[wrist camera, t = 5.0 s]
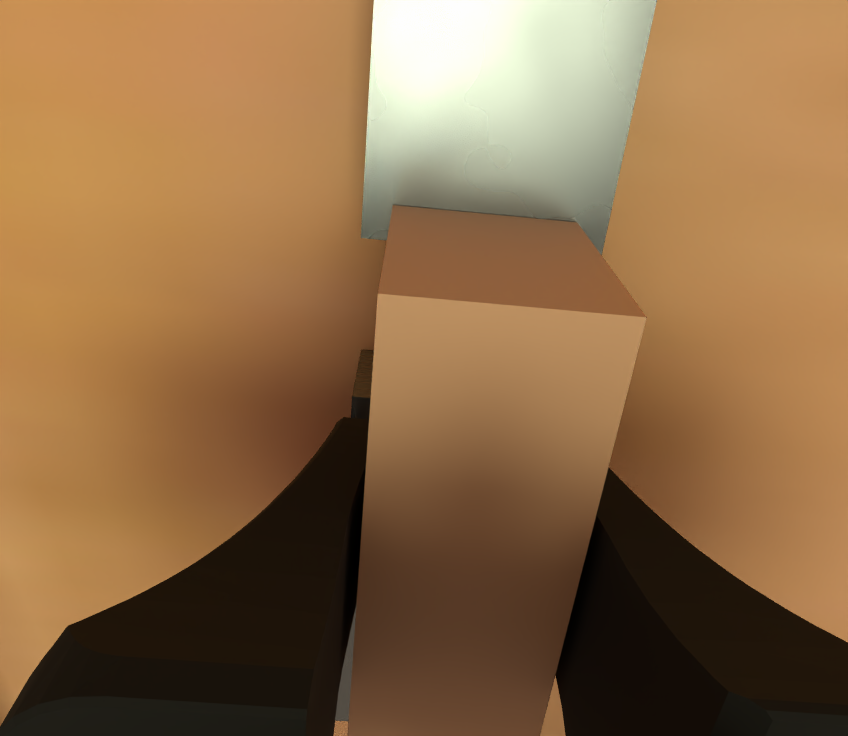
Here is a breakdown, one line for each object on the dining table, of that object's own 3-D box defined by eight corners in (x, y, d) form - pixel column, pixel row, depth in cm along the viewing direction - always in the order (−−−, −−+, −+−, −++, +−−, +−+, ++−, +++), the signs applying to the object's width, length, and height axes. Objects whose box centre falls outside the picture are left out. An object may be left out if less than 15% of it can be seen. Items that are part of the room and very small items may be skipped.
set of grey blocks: (491, 662, 19) (498, 730, 17) (342, 652, 19) (334, 720, 17) (623, -8, 12) (659, -11, 10) (383, -34, 12) (376, -43, 10)
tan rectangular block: (496, 529, 17) (530, 770, 11) (371, 520, 17) (346, 759, 11) (556, 194, 13) (646, 316, 8) (397, 179, 13) (377, 293, 8)
